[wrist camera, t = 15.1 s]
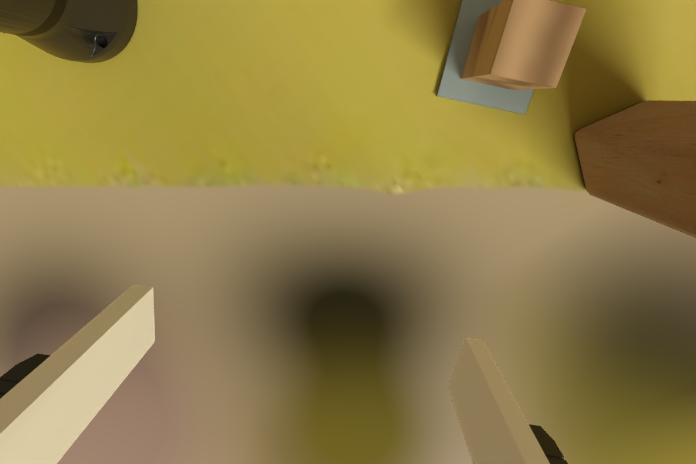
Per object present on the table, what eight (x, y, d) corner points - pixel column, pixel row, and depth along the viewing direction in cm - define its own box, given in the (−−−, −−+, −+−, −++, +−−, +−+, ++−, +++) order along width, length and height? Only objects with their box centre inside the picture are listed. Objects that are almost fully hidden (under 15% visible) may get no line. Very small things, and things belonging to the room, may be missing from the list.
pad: (436, 96, 45) (437, 96, 44) (464, -11, 40) (466, -13, 40) (523, 114, 45) (525, 114, 45) (560, 11, 41) (563, 9, 41)
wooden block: (569, 130, 46) (715, 153, 28) (646, 97, 45) (857, 97, 26) (583, 195, 50) (723, 254, 31) (656, 166, 48) (849, 210, 29)
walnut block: (460, 79, 43) (490, 74, 34) (478, 16, 41) (515, -8, 32) (512, 89, 44) (556, 88, 35) (533, 28, 41) (586, 8, 32)
